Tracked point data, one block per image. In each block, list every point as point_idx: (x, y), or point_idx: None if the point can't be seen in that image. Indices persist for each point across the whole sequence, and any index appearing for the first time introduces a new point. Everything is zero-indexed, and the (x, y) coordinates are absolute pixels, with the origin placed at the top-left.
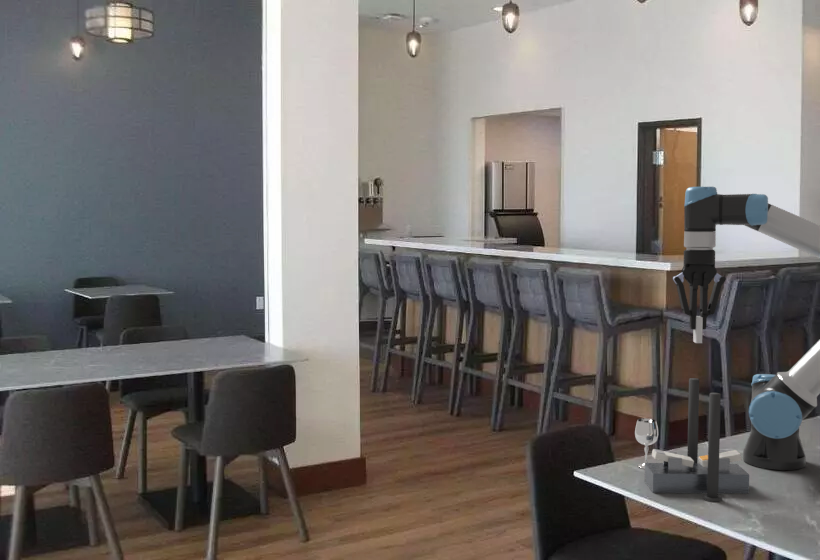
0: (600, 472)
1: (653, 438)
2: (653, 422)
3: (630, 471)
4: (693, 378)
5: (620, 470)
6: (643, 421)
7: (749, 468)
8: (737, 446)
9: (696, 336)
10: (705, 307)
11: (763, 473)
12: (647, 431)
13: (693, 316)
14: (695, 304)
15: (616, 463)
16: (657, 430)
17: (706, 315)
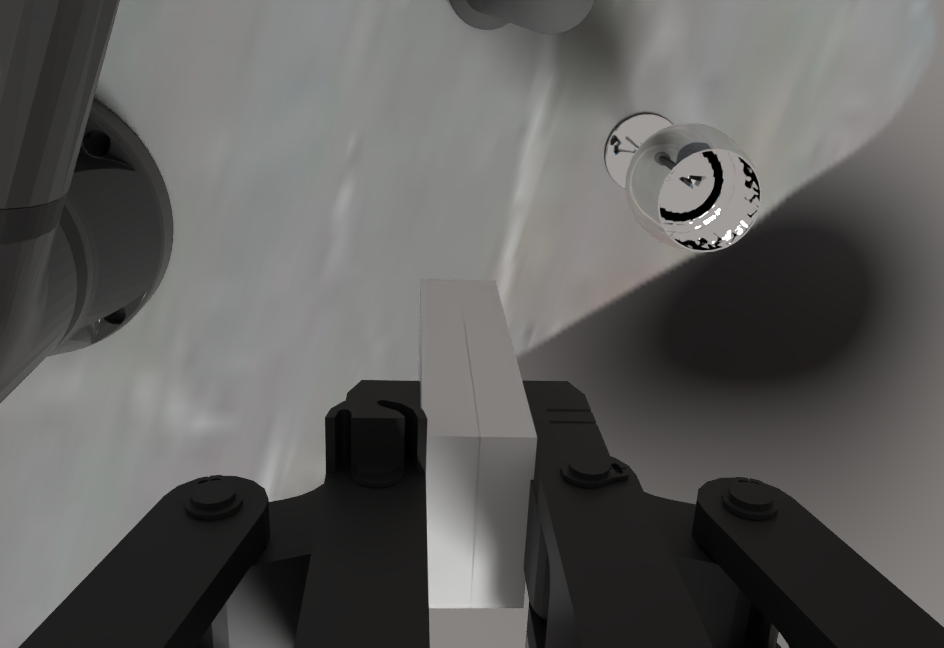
0: (876, 65)
1: (666, 128)
2: (687, 156)
3: (738, 78)
4: (547, 19)
5: (777, 95)
6: (703, 248)
7: (177, 119)
8: (140, 463)
9: (501, 308)
10: (356, 561)
11: (132, 34)
12: (712, 131)
13: (597, 455)
14: (611, 616)
15: None
16: (647, 157)
17: (361, 409)
